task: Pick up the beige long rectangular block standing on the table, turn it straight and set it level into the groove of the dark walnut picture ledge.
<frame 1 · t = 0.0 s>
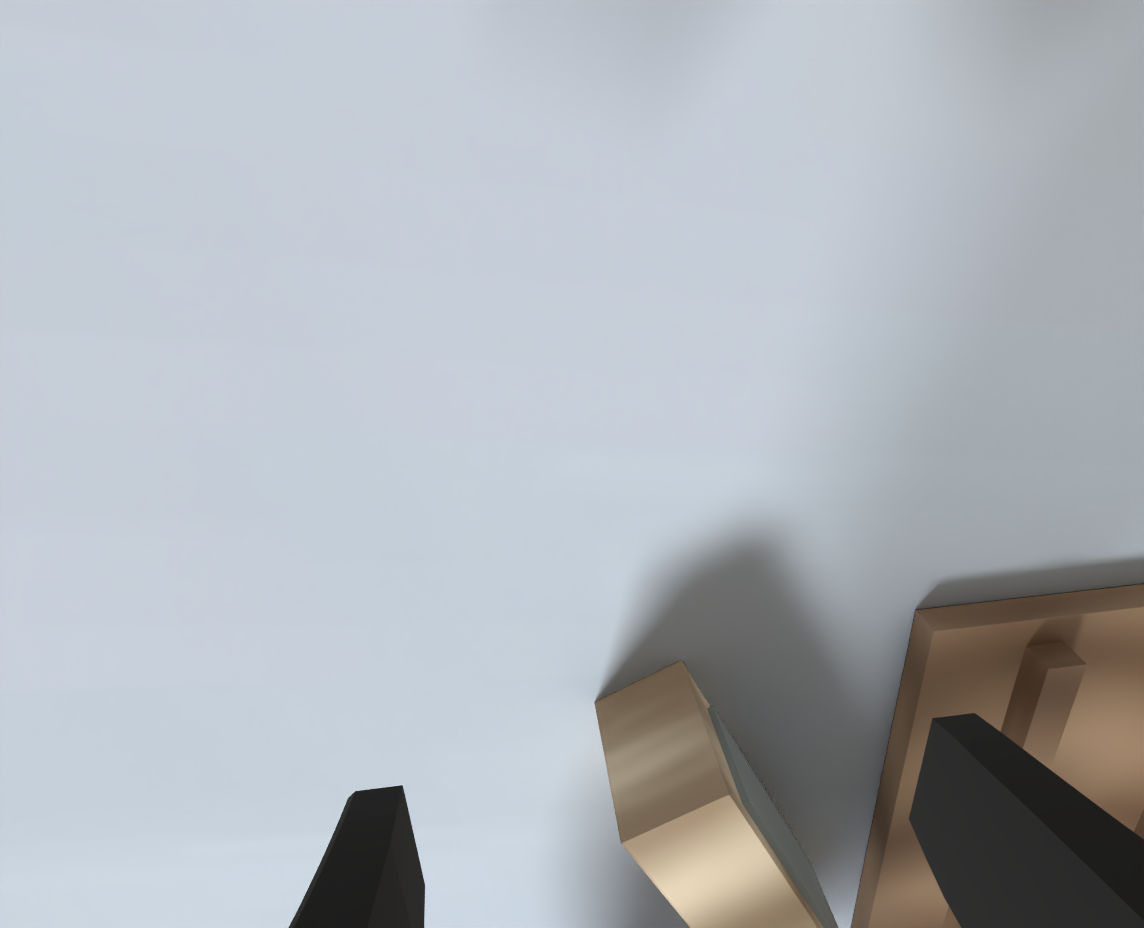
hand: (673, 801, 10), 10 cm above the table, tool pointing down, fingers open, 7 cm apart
picture ledge: (1051, 803, 28), on the table
beige long rectangular block: (711, 788, 25), on the table
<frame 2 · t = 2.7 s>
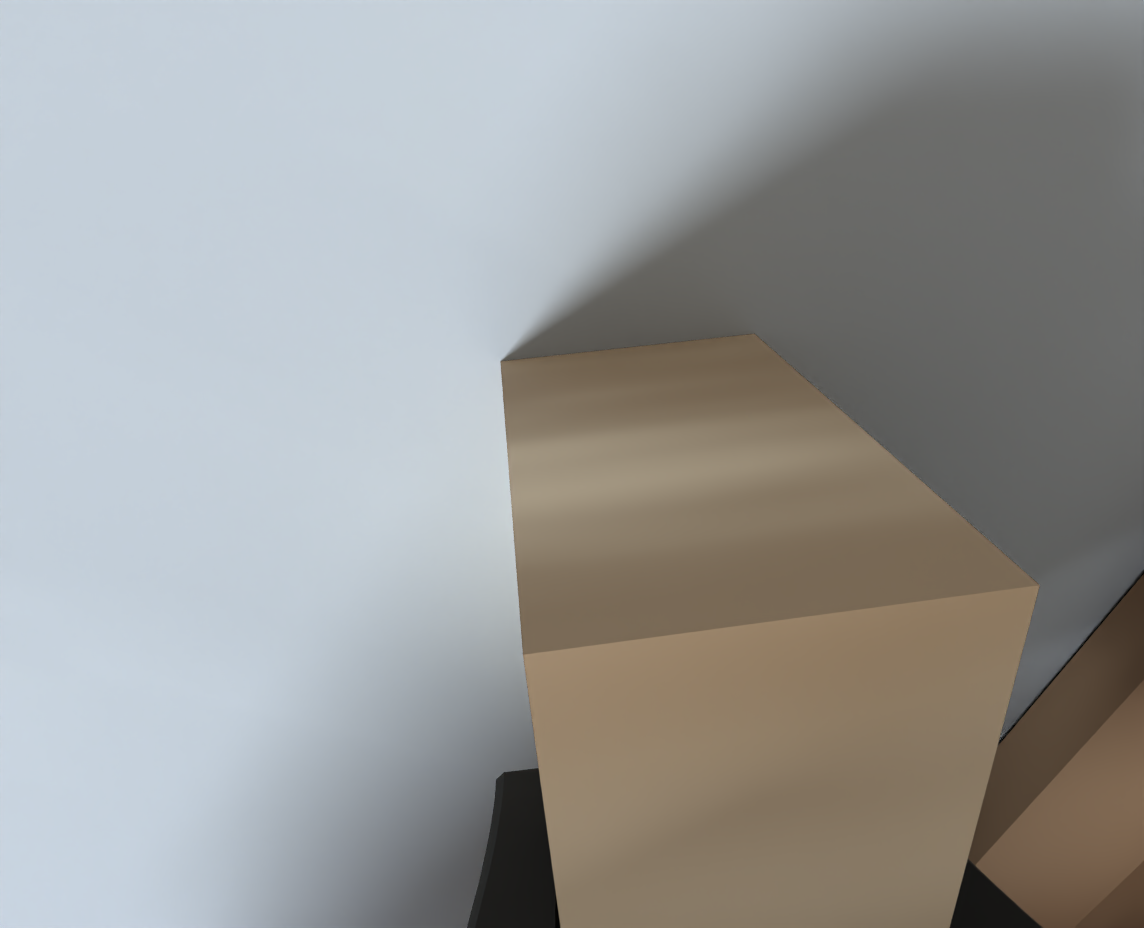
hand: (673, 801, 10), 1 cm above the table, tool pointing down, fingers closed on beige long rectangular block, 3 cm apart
beige long rectangular block: (644, 721, 11), on the table, touching gripper
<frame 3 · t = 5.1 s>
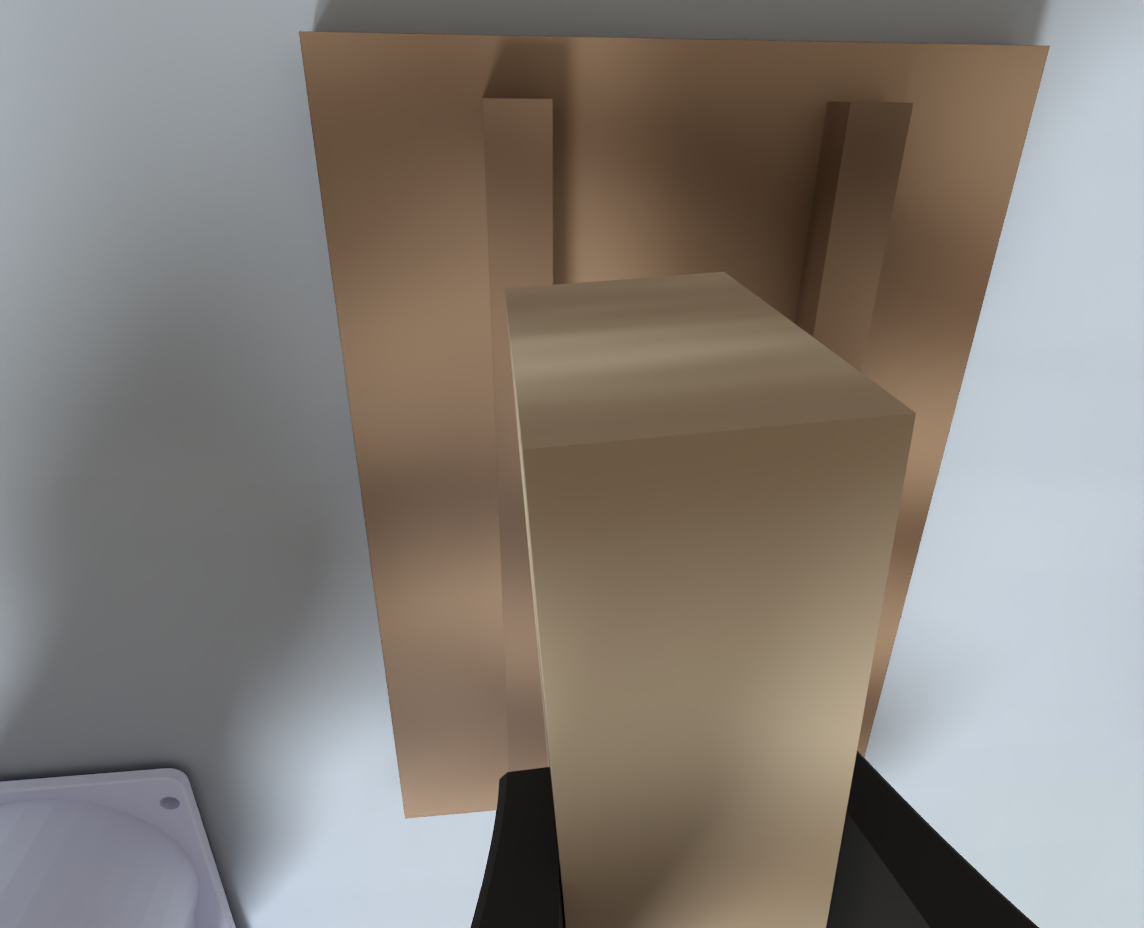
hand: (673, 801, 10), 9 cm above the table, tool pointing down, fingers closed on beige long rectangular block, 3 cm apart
picture ledge: (651, 492, 19), on the table
beige long rectangular block: (623, 630, 13), point 6 cm above the table, touching gripper
when the fingers open (3 cm above the table, at t = 7.5 s): beige long rectangular block stays where it is, resting on picture ledge.
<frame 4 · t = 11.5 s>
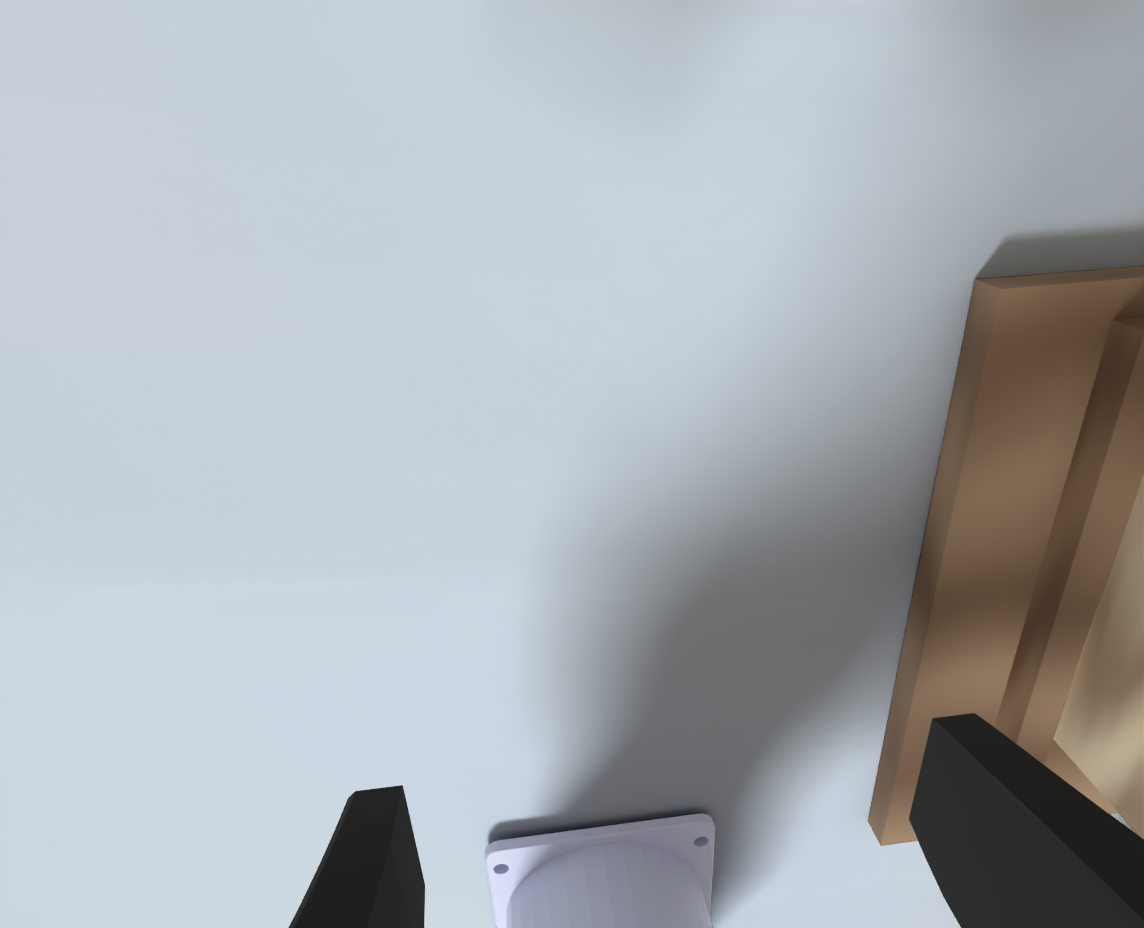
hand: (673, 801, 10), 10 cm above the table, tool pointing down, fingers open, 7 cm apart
picture ledge: (1123, 580, 23), on the table
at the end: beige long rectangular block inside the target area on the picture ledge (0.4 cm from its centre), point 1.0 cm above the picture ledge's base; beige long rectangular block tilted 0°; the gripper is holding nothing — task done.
